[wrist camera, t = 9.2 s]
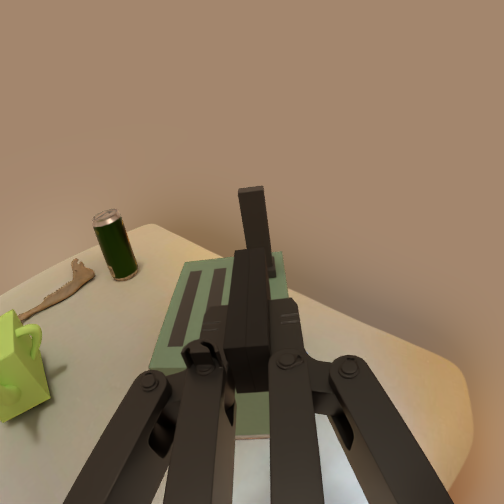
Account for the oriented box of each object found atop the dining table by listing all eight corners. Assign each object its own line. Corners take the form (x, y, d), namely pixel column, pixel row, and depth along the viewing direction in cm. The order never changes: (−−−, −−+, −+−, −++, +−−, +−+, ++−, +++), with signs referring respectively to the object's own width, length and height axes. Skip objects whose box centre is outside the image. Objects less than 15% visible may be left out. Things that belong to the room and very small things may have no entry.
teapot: (38, 445, 22) (-22, 386, 17) (-19, 421, 23) (-67, 367, 18) (78, 354, 35) (41, 292, 30) (20, 350, 36) (-13, 296, 31)
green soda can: (123, 285, 50) (99, 222, 44) (107, 278, 53) (85, 220, 47) (144, 269, 53) (125, 209, 48) (128, 263, 56) (109, 207, 50)
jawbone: (107, 269, 57) (104, 260, 56) (43, 337, 40) (37, 328, 39) (78, 264, 59) (75, 256, 58) (17, 324, 42) (12, 315, 41)
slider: (275, 263, 29) (265, 183, 25) (276, 277, 26) (266, 192, 23) (249, 266, 29) (236, 186, 25) (248, 280, 27) (234, 196, 23)
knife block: (290, 329, 36) (283, 249, 31) (302, 435, 23) (300, 362, 18) (206, 336, 37) (183, 261, 31) (189, 439, 24) (144, 369, 19)
